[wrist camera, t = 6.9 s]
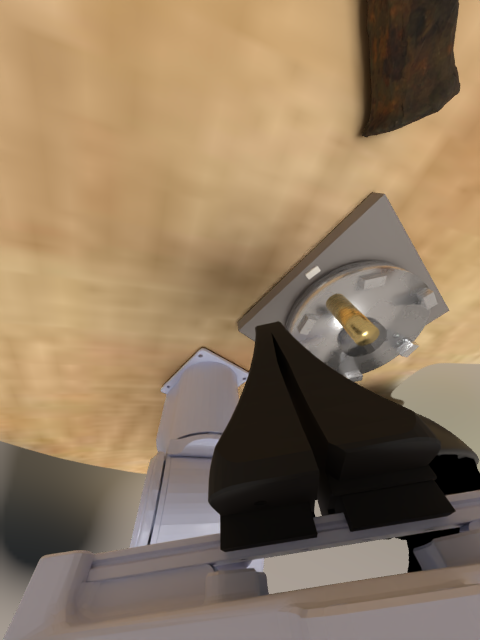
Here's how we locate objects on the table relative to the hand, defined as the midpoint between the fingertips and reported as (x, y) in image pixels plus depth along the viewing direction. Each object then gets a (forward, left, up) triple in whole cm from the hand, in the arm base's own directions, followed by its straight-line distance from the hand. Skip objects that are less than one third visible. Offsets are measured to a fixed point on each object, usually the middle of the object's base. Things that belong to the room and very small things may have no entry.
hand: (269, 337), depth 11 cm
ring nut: (+3, -11, -8) cm, 14 cm away
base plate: (+3, -11, -9) cm, 15 cm away
